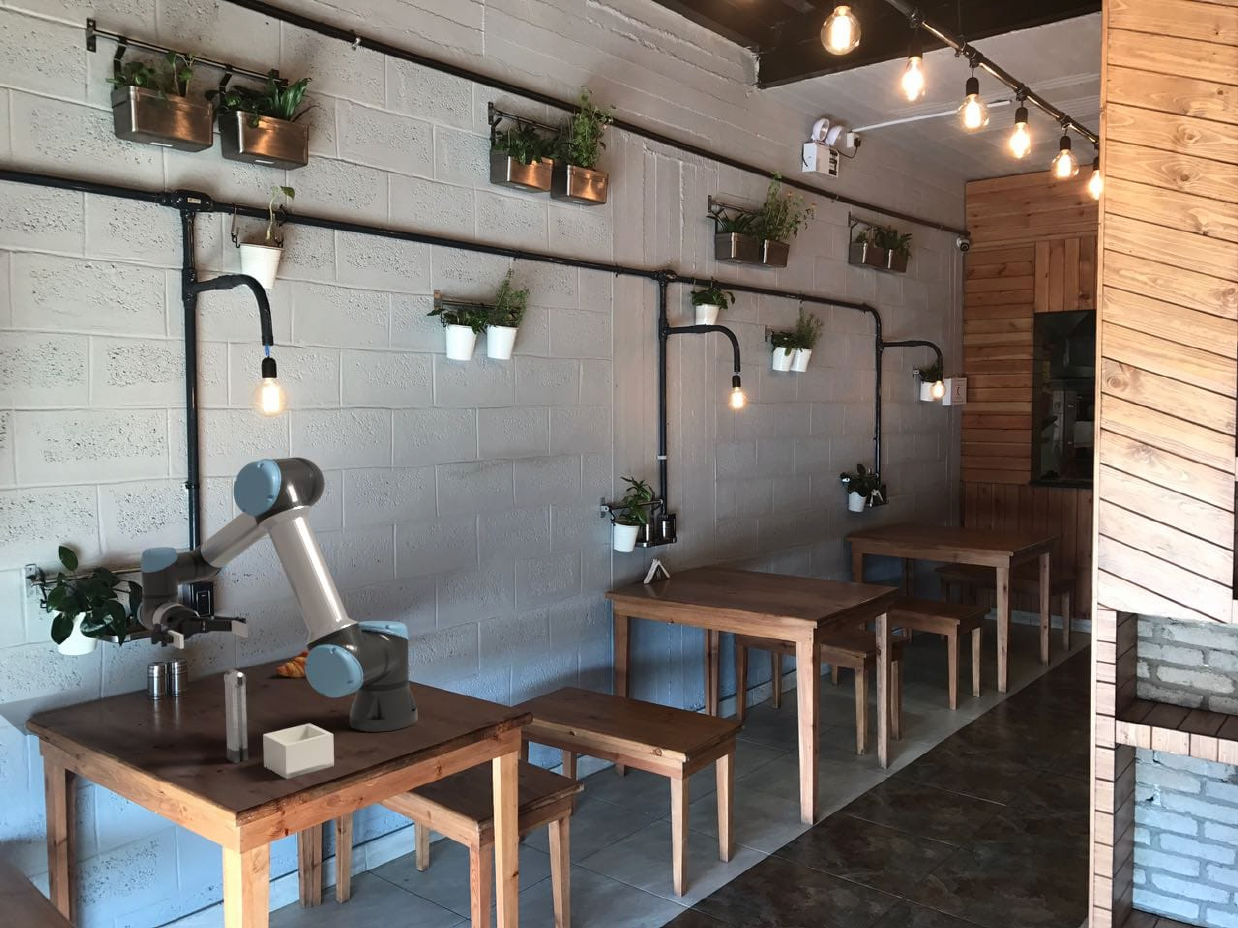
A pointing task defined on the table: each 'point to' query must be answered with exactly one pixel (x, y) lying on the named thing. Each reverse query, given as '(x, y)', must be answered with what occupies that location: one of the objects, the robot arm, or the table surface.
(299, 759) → the caddy
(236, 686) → the tongs
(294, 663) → the croissant
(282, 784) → the table surface
